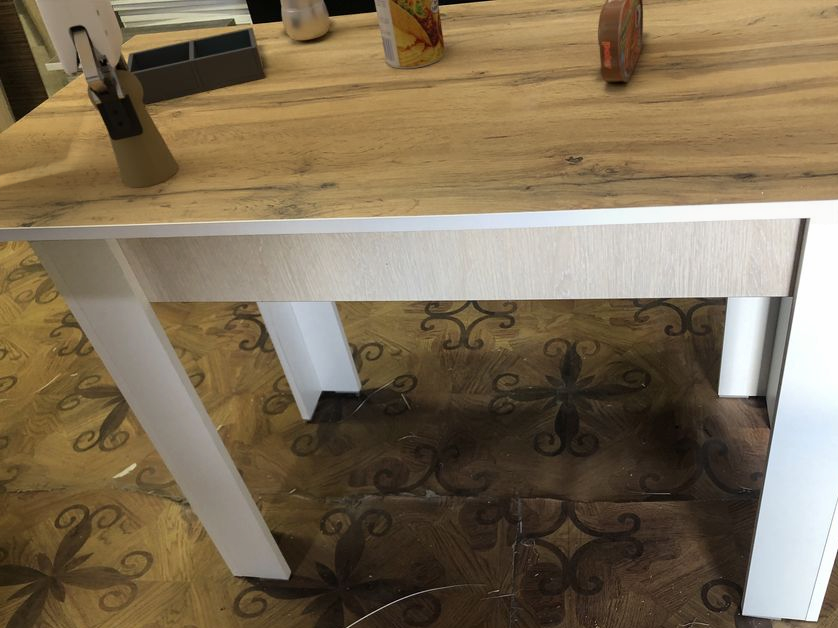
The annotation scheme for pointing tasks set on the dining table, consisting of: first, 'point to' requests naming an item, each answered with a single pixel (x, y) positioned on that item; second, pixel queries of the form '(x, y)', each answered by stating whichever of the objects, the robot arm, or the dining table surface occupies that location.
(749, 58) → the dining table surface
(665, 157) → the dining table surface
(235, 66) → the divided storage box
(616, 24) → the tin
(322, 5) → the plastic bottle
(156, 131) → the cork
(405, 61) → the canned food
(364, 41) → the dining table surface
